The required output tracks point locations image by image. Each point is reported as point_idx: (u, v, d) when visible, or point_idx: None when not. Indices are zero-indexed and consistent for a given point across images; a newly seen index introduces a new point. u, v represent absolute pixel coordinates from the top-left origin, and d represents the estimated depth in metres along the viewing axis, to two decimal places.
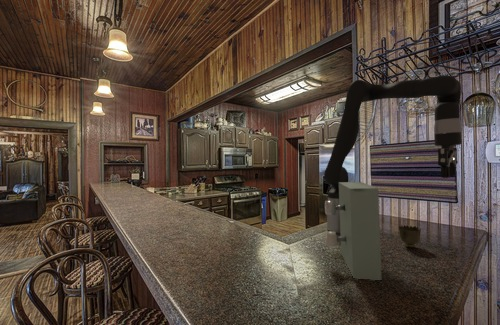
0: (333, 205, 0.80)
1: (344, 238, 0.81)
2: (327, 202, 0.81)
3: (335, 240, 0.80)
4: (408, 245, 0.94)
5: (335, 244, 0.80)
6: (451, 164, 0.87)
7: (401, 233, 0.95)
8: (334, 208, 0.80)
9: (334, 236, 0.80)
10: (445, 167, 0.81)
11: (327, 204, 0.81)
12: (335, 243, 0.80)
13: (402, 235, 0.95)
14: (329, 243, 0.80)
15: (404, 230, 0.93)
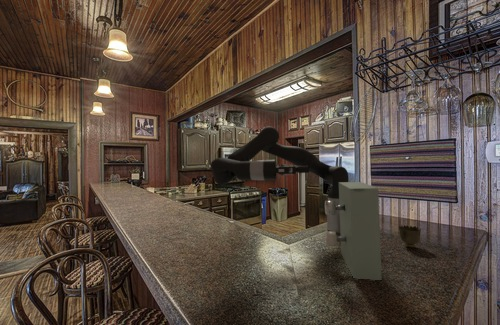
0: (333, 205, 0.80)
1: (344, 238, 0.81)
2: (327, 202, 0.81)
3: (335, 240, 0.80)
4: (408, 245, 0.94)
5: (335, 244, 0.80)
6: None
7: (401, 233, 0.95)
8: (334, 208, 0.80)
9: (334, 236, 0.80)
10: None
11: (327, 204, 0.81)
12: (335, 243, 0.80)
13: (402, 235, 0.95)
14: (329, 243, 0.80)
15: (404, 230, 0.93)
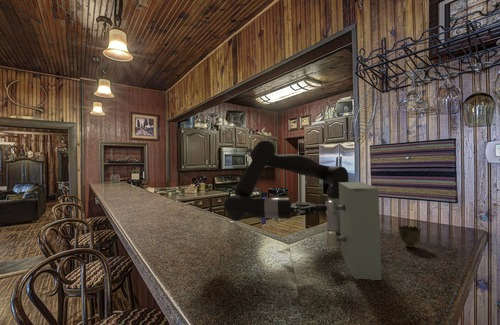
0: (334, 205, 0.80)
1: (344, 238, 0.81)
2: (328, 202, 0.81)
3: (335, 240, 0.80)
4: (408, 245, 0.94)
5: (335, 244, 0.80)
6: None
7: (401, 233, 0.95)
8: (335, 208, 0.79)
9: (334, 236, 0.80)
10: None
11: (328, 204, 0.80)
12: (335, 243, 0.80)
13: (402, 235, 0.95)
14: (329, 243, 0.80)
15: (404, 230, 0.93)
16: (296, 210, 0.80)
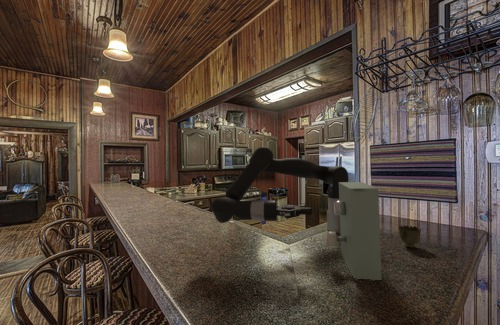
0: (343, 205, 0.79)
1: (344, 238, 0.81)
2: (336, 202, 0.81)
3: (335, 240, 0.80)
4: (408, 245, 0.94)
5: (335, 244, 0.80)
6: None
7: (401, 233, 0.95)
8: (344, 208, 0.79)
9: (334, 236, 0.80)
10: None
11: (336, 204, 0.80)
12: (335, 243, 0.80)
13: (402, 235, 0.95)
14: (329, 243, 0.80)
15: (404, 230, 0.93)
16: (281, 213, 0.81)
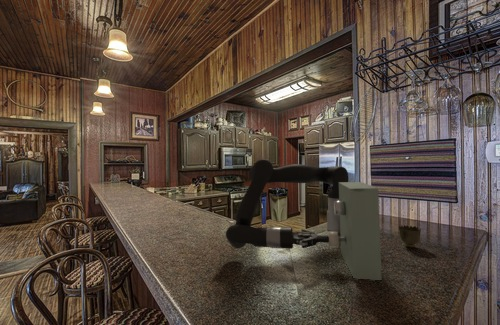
0: (343, 205, 0.79)
1: None
2: (336, 202, 0.81)
3: (337, 240, 0.79)
4: (408, 245, 0.94)
5: (337, 244, 0.80)
6: None
7: (401, 233, 0.95)
8: (344, 208, 0.79)
9: (336, 236, 0.80)
10: None
11: (336, 204, 0.80)
12: (337, 243, 0.80)
13: (402, 235, 0.95)
14: (331, 243, 0.80)
15: (404, 230, 0.93)
16: (298, 242, 0.80)
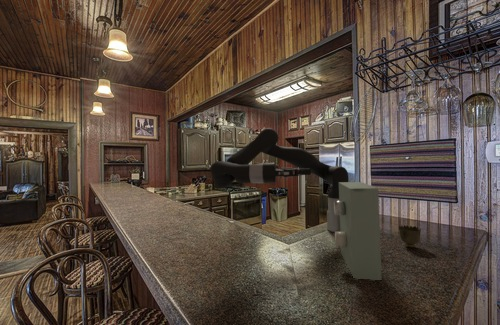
0: (343, 205, 0.79)
1: None
2: (336, 202, 0.81)
3: (345, 240, 0.79)
4: (408, 245, 0.94)
5: (345, 244, 0.79)
6: None
7: (401, 233, 0.95)
8: (344, 208, 0.79)
9: (344, 236, 0.80)
10: None
11: (336, 204, 0.80)
12: (345, 243, 0.79)
13: (402, 235, 0.95)
14: (339, 243, 0.80)
15: (404, 230, 0.93)
16: (280, 173, 0.81)
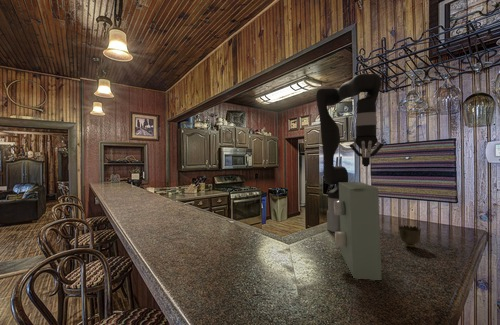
0: (343, 205, 0.79)
1: None
2: (336, 202, 0.81)
3: (345, 240, 0.79)
4: (408, 245, 0.94)
5: (345, 244, 0.79)
6: (366, 156, 0.96)
7: (401, 233, 0.95)
8: (344, 208, 0.79)
9: (344, 236, 0.80)
10: (362, 157, 0.97)
11: (336, 204, 0.80)
12: (345, 243, 0.79)
13: (402, 235, 0.95)
14: (339, 243, 0.80)
15: (404, 230, 0.93)
16: None
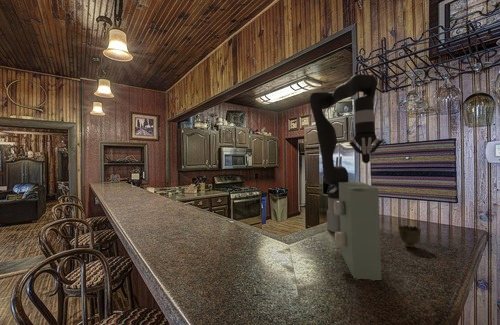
0: (343, 205, 0.79)
1: None
2: (336, 202, 0.81)
3: (345, 240, 0.79)
4: (408, 245, 0.94)
5: (345, 244, 0.79)
6: (366, 153, 0.98)
7: (401, 233, 0.95)
8: (344, 208, 0.79)
9: (344, 236, 0.80)
10: (362, 154, 0.98)
11: (336, 204, 0.80)
12: (345, 243, 0.79)
13: (402, 235, 0.95)
14: (339, 243, 0.80)
15: (404, 230, 0.93)
16: None
